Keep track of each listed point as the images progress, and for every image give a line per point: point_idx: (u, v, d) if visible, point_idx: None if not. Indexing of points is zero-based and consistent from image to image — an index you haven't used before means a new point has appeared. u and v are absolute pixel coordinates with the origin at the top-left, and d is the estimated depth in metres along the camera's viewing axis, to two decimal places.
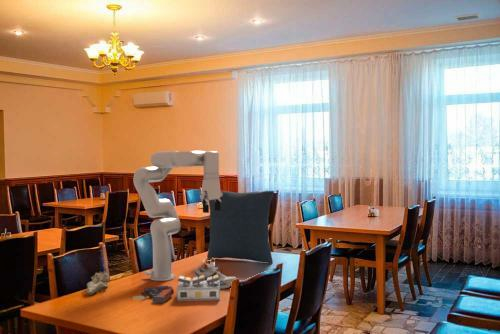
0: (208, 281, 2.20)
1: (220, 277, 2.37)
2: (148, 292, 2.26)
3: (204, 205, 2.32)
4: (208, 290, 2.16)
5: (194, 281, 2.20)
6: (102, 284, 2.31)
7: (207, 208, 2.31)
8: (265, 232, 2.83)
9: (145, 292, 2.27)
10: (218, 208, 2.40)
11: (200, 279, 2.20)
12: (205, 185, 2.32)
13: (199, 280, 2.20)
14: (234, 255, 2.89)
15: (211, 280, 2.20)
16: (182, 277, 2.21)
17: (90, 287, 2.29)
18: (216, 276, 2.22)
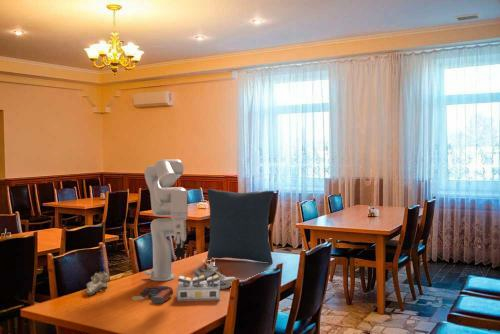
0: (208, 281, 2.20)
1: (220, 277, 2.36)
2: (147, 292, 2.26)
3: None
4: (208, 290, 2.16)
5: (194, 281, 2.20)
6: (102, 284, 2.31)
7: None
8: (265, 232, 2.83)
9: (144, 292, 2.26)
10: None
11: (200, 279, 2.20)
12: None
13: (199, 280, 2.20)
14: (234, 255, 2.89)
15: (211, 280, 2.20)
16: (182, 277, 2.21)
17: (90, 287, 2.28)
18: (216, 276, 2.22)
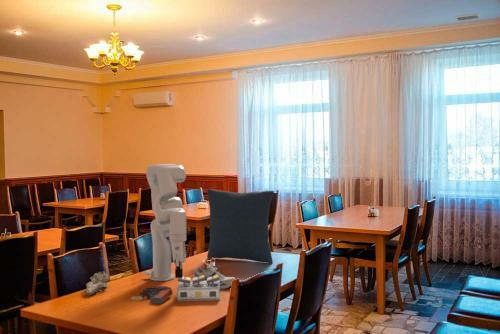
0: (208, 281, 2.20)
1: (219, 277, 2.36)
2: (147, 292, 2.26)
3: None
4: (208, 290, 2.16)
5: (194, 281, 2.20)
6: (101, 284, 2.31)
7: None
8: (265, 232, 2.83)
9: (144, 292, 2.26)
10: None
11: (200, 279, 2.20)
12: None
13: (199, 280, 2.20)
14: (234, 255, 2.89)
15: (211, 280, 2.20)
16: (182, 277, 2.21)
17: (89, 287, 2.28)
18: (216, 276, 2.22)
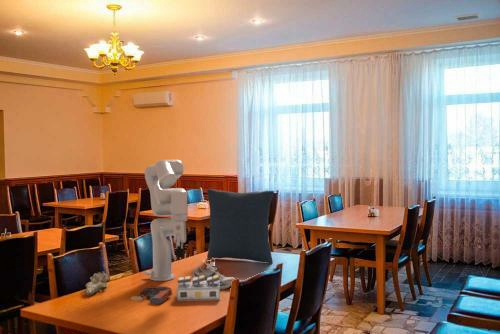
0: (208, 281, 2.20)
1: (219, 278, 2.36)
2: (146, 293, 2.25)
3: None
4: (208, 290, 2.16)
5: (194, 281, 2.20)
6: (101, 284, 2.31)
7: None
8: (265, 232, 2.83)
9: (143, 293, 2.26)
10: None
11: (200, 279, 2.20)
12: None
13: (199, 280, 2.20)
14: (234, 255, 2.89)
15: (211, 280, 2.20)
16: (181, 278, 2.21)
17: (89, 288, 2.28)
18: (216, 276, 2.22)
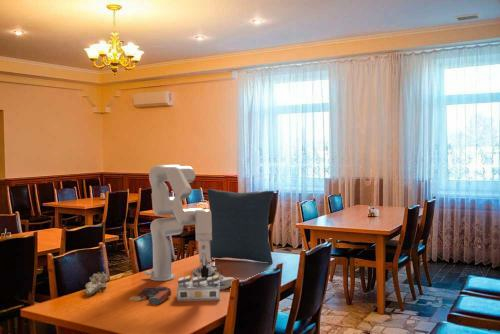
0: (208, 281, 2.20)
1: None
2: (146, 293, 2.25)
3: None
4: (208, 290, 2.16)
5: (194, 281, 2.20)
6: (101, 285, 2.30)
7: None
8: (265, 232, 2.83)
9: (143, 293, 2.26)
10: None
11: (200, 279, 2.20)
12: None
13: (199, 280, 2.20)
14: (234, 255, 2.89)
15: (211, 280, 2.20)
16: (181, 278, 2.21)
17: (89, 288, 2.28)
18: (216, 276, 2.22)
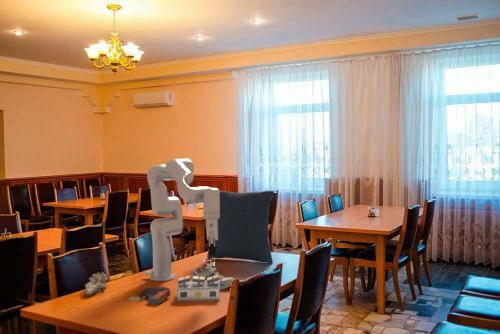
0: (208, 281, 2.20)
1: None
2: (145, 293, 2.25)
3: None
4: (208, 290, 2.16)
5: (194, 279, 2.20)
6: (101, 285, 2.30)
7: None
8: (265, 232, 2.83)
9: (142, 293, 2.25)
10: None
11: (200, 280, 2.20)
12: None
13: (199, 280, 2.20)
14: (234, 255, 2.89)
15: (211, 280, 2.20)
16: (181, 278, 2.21)
17: (89, 288, 2.27)
18: (216, 276, 2.22)
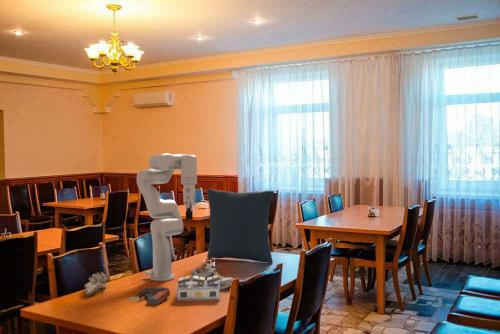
0: (208, 281, 2.20)
1: None
2: (145, 293, 2.24)
3: None
4: (208, 290, 2.16)
5: (194, 279, 2.20)
6: (100, 285, 2.30)
7: None
8: (265, 232, 2.83)
9: (142, 293, 2.25)
10: None
11: (200, 280, 2.20)
12: None
13: (199, 280, 2.20)
14: (234, 255, 2.89)
15: (211, 280, 2.20)
16: (181, 278, 2.21)
17: (88, 288, 2.27)
18: (216, 276, 2.22)
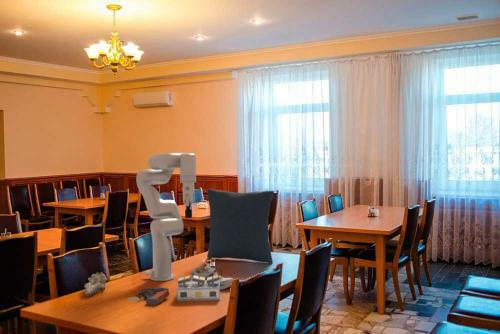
0: (208, 281, 2.20)
1: None
2: (144, 293, 2.24)
3: None
4: (208, 290, 2.16)
5: (194, 279, 2.20)
6: (100, 285, 2.30)
7: None
8: (265, 232, 2.83)
9: (141, 293, 2.25)
10: None
11: (200, 280, 2.20)
12: None
13: (199, 280, 2.20)
14: (234, 255, 2.89)
15: (211, 280, 2.20)
16: (181, 278, 2.21)
17: (88, 288, 2.27)
18: (216, 276, 2.22)
